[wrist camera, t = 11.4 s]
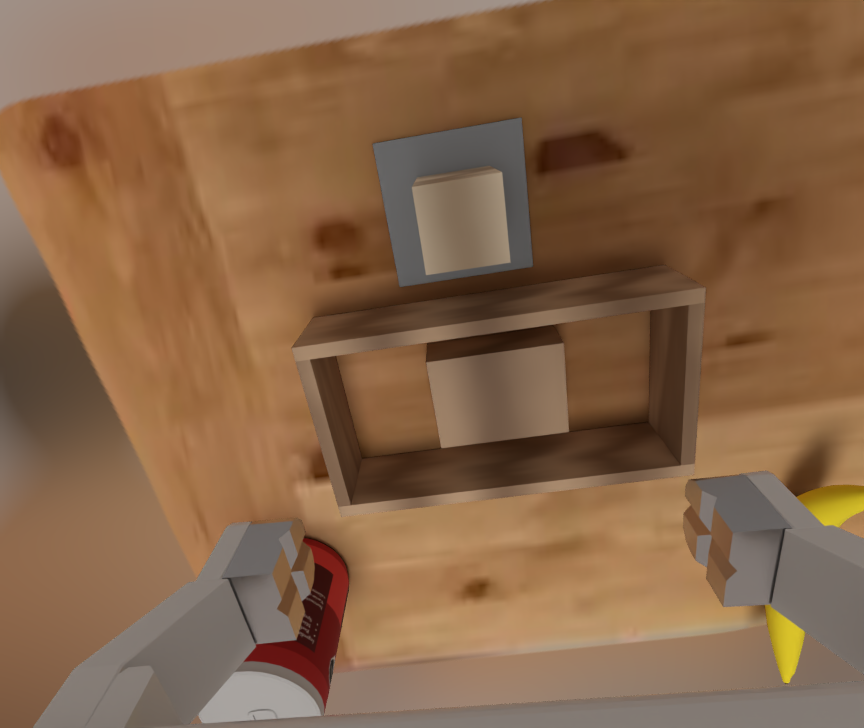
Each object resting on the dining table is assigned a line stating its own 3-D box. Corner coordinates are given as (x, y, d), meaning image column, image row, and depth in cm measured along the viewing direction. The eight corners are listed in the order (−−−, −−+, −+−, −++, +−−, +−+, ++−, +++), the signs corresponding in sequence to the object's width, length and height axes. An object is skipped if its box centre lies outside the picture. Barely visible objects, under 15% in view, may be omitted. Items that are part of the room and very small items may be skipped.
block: (489, 165, 27) (502, 172, 22) (496, 239, 29) (510, 262, 24) (417, 177, 28) (411, 186, 22) (428, 249, 29) (426, 275, 24)
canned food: (290, 618, 43) (244, 766, 32) (235, 553, 40) (166, 694, 30) (369, 590, 41) (346, 736, 31) (318, 520, 38) (275, 657, 28)
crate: (665, 264, 30) (705, 287, 25) (660, 430, 35) (694, 474, 30) (312, 317, 32) (291, 348, 27) (353, 469, 36) (341, 517, 32)
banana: (731, 626, 42) (778, 703, 36) (795, 432, 35) (867, 491, 29) (766, 626, 42) (818, 703, 36) (838, 432, 34) (919, 491, 29)
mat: (520, 117, 27) (521, 117, 26) (532, 265, 30) (533, 266, 30) (373, 143, 27) (372, 143, 27) (400, 285, 31) (399, 287, 30)
